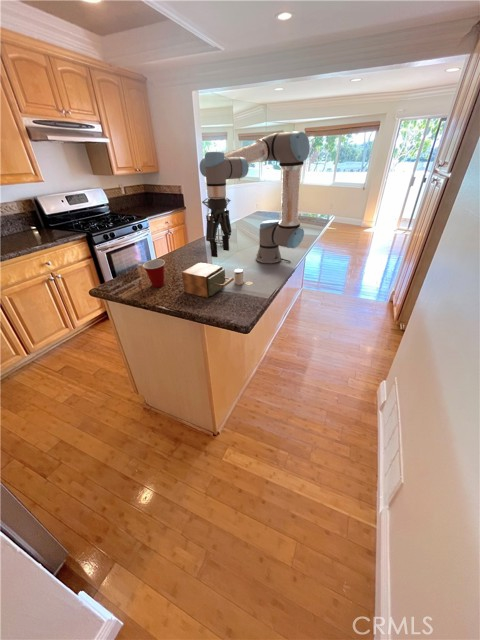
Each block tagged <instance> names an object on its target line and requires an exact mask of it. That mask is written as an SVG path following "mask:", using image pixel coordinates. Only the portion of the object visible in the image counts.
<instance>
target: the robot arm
mask: <svg viewBox="0 0 480 640" xmlns="http://www.w3.org/2000/svg"><path fill="white" fill-rule="evenodd" d="M310 149H311V145H310V140H309V137H308V135H307V134H306V133H305V132H304V131H300V130H299V131H298V130H297V131H296V130H294V131H284V132H275V133H271V134H269V135H266V136H264V137H262V138H258V139H256V140H254V142H253V143H251V144H248V145H245V146H242V147H238V148H236V149H233V150H230V151H227V152H224V151H205V153H204V157H203V158H202V159H201V160H200V162H199V172H200V174H201V175H202V177H204V178H205V180H206V191H207V192H206V194H207V195H206V196H207V198H208V197H209V198H208V199H207V201H208V207H207V209H208V210H210V215H207V214H206V215H205V218H206V230H205V231H206V234H205V241H206V242H209V248H210V256H211V257H213V258H218V246H217V245H218V243H217V242H218V240H217V241H215V240H216V238H217V236H216V235H218V227H219V226H220V229H221V228H222V235H223V236H222V235H221V238H222V237H223V242H222V250H223V251H227V252H229V251H230V238H229V236H230V237H231V236H232V226H231V225H232V224H231V220H230V210H229V209H227V210H226V208H227V207H228V205H227V203H228V202H227V199H226V198H227V196H228V195H227V180H237V179H238V180H240V179H244V178H245V177H246V176H247V175H248V174H249V168H250V167H249V165H252V164H254V163H257V162H258V163H264V162H278V163H279V164H278V166H279V168H280V169H281V171H282V172H281V217H280V218H281V219H280V220H279V219H271V220H264V221H261V223H259V247H258V251H257V253H256V254H255V258H256V259H255V260H256V261H257V262H259V263H260V264H270V265H271V264H276V263H279V262H281V261H284V262H288V263H291V260H288V259H286V258H285V259H284V258H282V255H281V251H280V247H283V248H287V249H296V248H298V247H299V246H300V245H301V244H302V242H303V240H304V235H305V229H304V228H303V227H301V221H300V220H299V218H298V217H299V216H298V215H299V200H300V199H299V196H300V180H301V168H302V167H303V166H304V165H305V164H304V162H305V161H306V160H307V159H308V158H309V154H310ZM225 197H226V198H225ZM228 229H229V230H228Z"/></svg>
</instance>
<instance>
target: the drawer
mask: <svg viewBox="0 0 480 640" xmlns="http://www.w3.org/2000/svg"><path fill="white" fill-rule="evenodd" d="M206 280H207V290H208V293H209V297H212V296H214V295H215V294H216V293H218V292H219V291H220V290H222V289H223V288H225V287H226V286H228V285H229V284H231V283H232V282H233V281H235V277H226V269H225V268H222V270H218V271H216V272H215V273H213V274H212V275H210V276H208V277H207V278H206Z"/></svg>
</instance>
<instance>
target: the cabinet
mask: <svg viewBox="0 0 480 640" xmlns="http://www.w3.org/2000/svg"><path fill="white" fill-rule="evenodd" d="M222 269H223V266H222V265H217V264H210V263H205V262H197V263H196V264H194V265H192V266H190V267H189V268H187V269H185V270H183V271H181V277H182V284H183V290H184V293H186V294H190V295H193V296H199V297H203V298H206V299H208V298H209V297H210V296H209V293H208V290H207V280H206V278H207V277H208V276H210V275H212V274H213V273H215V272H216V271H218V270H222Z"/></svg>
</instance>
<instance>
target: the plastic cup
mask: <svg viewBox="0 0 480 640" xmlns="http://www.w3.org/2000/svg"><path fill="white" fill-rule="evenodd" d="M165 265H166V261H165V260H164V259H161V258H159V259H158V258H155V259H154V258H153V259H150V260H147V261H145V262H144V263H143V264H142V267H143V268H144V271H146V274H147V276H148V279H149V281H150V283H151V285H152V287H153V288H161V287H164V286H165Z"/></svg>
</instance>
